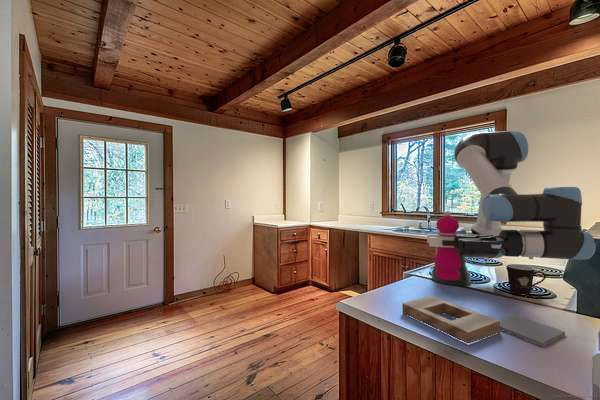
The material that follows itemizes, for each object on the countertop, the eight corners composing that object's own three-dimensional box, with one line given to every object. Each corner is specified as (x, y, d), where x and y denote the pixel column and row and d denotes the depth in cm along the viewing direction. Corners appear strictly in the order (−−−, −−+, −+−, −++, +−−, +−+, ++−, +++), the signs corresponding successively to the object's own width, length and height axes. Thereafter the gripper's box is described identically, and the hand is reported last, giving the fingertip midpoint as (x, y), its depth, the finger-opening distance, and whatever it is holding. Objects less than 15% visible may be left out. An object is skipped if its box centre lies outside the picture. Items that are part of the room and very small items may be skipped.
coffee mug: (504, 292, 110) (504, 267, 110) (508, 287, 116) (508, 262, 116) (543, 300, 102) (543, 272, 101) (546, 294, 108) (546, 268, 107)
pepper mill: (435, 272, 90) (435, 210, 90) (461, 275, 87) (461, 210, 86) (433, 278, 84) (432, 211, 84) (461, 282, 80) (461, 212, 80)
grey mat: (492, 326, 82) (492, 323, 82) (515, 318, 88) (515, 315, 88) (542, 346, 72) (542, 342, 72) (565, 335, 77) (565, 331, 77)
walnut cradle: (402, 313, 92) (402, 303, 92) (431, 305, 99) (431, 295, 99) (468, 345, 73) (468, 332, 73) (499, 333, 79) (499, 320, 79)
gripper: (533, 264, 71) (432, 259, 78) (506, 250, 88) (425, 246, 95) (533, 234, 71) (431, 232, 78) (506, 226, 88) (425, 224, 95)
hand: (428, 240), depth 87 cm, fingers closed on pepper mill, 5 cm apart
